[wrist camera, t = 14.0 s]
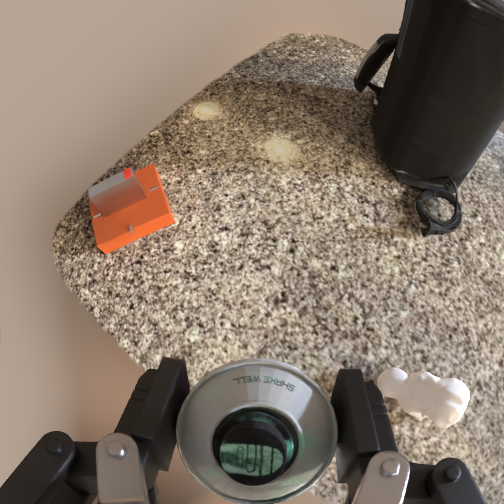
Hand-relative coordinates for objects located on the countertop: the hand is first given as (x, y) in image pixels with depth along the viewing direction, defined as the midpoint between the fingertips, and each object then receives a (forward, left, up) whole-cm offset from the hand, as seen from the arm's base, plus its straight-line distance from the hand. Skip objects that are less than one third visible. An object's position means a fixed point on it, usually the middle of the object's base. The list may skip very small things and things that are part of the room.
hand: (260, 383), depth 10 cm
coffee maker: (+39, +23, -28) cm, 53 cm away
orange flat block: (-9, +30, -28) cm, 42 cm away
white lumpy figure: (+16, -11, -28) cm, 34 cm away
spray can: (-1, -1, -16) cm, 17 cm away
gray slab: (-9, +30, -25) cm, 40 cm away
